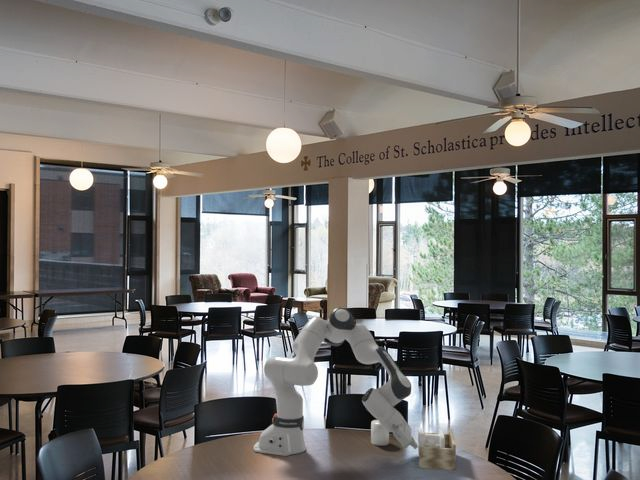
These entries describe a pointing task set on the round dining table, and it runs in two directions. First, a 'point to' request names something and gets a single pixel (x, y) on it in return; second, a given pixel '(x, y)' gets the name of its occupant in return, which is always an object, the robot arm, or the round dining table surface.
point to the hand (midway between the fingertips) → (416, 446)
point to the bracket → (439, 454)
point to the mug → (379, 434)
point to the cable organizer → (431, 439)
